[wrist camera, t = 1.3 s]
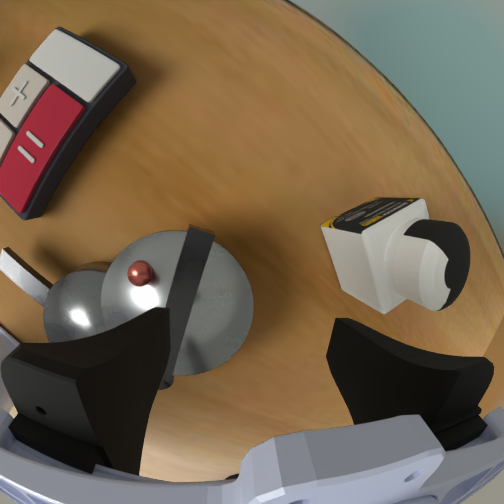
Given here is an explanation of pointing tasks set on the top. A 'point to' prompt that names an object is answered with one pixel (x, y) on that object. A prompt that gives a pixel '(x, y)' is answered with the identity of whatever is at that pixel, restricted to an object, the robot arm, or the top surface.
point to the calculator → (54, 115)
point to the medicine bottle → (397, 254)
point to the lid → (183, 296)
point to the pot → (62, 297)
